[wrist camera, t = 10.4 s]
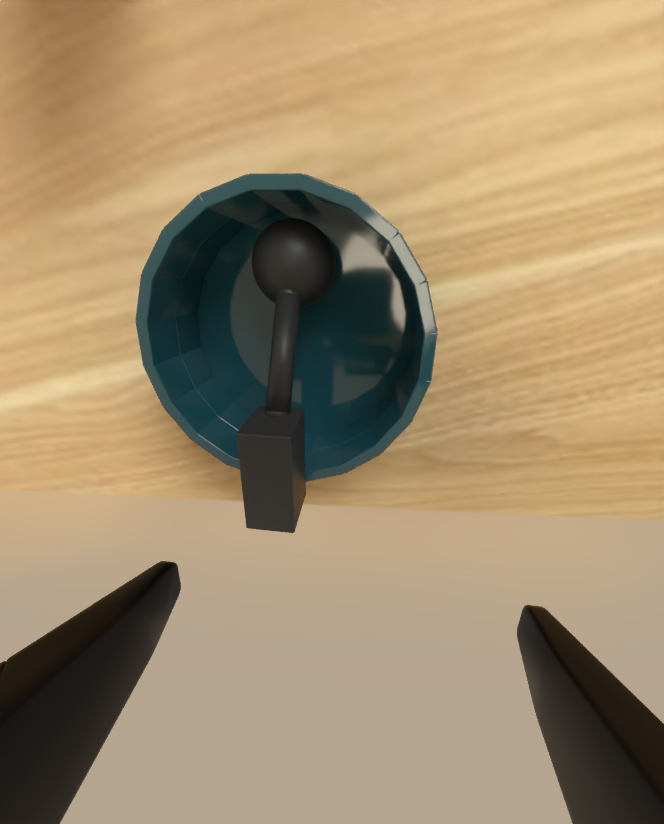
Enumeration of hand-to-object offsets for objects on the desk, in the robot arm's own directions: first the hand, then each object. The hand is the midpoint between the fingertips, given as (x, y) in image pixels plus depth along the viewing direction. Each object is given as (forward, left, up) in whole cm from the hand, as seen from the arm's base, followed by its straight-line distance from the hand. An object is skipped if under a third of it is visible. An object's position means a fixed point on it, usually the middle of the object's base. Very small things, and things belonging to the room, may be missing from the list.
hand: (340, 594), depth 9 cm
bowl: (+5, +3, -12) cm, 13 cm away
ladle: (+4, +3, -11) cm, 13 cm away
